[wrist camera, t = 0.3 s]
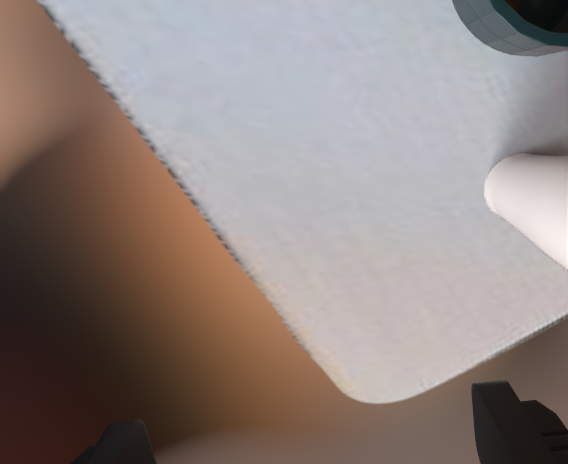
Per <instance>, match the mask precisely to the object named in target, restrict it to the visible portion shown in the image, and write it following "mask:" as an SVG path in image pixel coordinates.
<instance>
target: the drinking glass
mask: <svg viewBox="0 0 568 464" xmlns="http://www.w3.org/2000/svg"><path fill="white" fill-rule="evenodd" d="M484 197H485V201H486V203H487V205H488V207H489V209H490V210H491V211H492V212H493V213H494V214H495V215H496V216H497V217H499V218H500V219H502V220H504V221H506V222H507V223H508V224H509V225H511V226H512V227H513V228H514V229H515V230H517V231H518V232H519V233H520V234H521V235H523V236H524V237H525V238H526V239H527V240H528V241H530V242H531V243H532V244H533V245H534V246H535V247H537V248H538V249H539V250H540V251H541V252H542V253H544V254H545V255H546V256H547V257H549V258H550V259H551V260H552V261H554V262H555V263H556V264H558V265H559V266H561V267H562V268H564V269H565V270H567V271H568V156H553V155H536V154H530V153H517V154H513V155H510V156H507V157H505V158H503V159H502V160H500V161H499V162H498V163H497V164H495V165H494V167H493V168H492V169H491V170H490V172H489V173H488V175H487V178H486V180H485V184H484Z"/></svg>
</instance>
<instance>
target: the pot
mask: <svg viewBox="0 0 568 464" xmlns="http://www.w3.org/2000/svg"><path fill="white" fill-rule="evenodd" d="M452 1H453V4H454V7H455V9H456V11H457V13H458V15H459V17H460V19H461V20H462V22H463V23H464V24H465V26H466V27H467V29H468V30H469V31H470V32H471V33H472V34H473V35H474V36H475V37H476V38H478V39H479V40H480V41H482V42H483V43H484V44H486V45H488V46H490V47H491V48H493V49H496V50H498V51H501V52H503V53H507V54H510V55H518V56H536V57H537V56H542V55H547V54H552V53H556V52H561V51H566V50H568V0H452Z"/></svg>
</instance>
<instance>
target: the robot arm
mask: <svg viewBox="0 0 568 464" xmlns="http://www.w3.org/2000/svg"><path fill="white" fill-rule="evenodd" d="M472 403H473V417H474V429H475V440H476V447H477V452H478V456H479V460H480V463H481V464H568V430H567V428H566V427H565V425H563V423H562V421H561V420H560V419H559V417H558V416H557V414H555V413H554V412H553V411H551V410H550V409H548V408H547V407H545V406H544V405H542V404H541V403H539V402H538V401H537V400H531V401H522V402H520V400H519V399H518V397H517V395H516V394H515V392H514V391H513V389H512V388H511V386H510V384H509V383H508V382H507V381H506V380H500V381H492V382H483V383H473V384H472ZM71 464H156V461H155V457H154V454H153V450H152V447H151V443H150V440H149V436H148V433H147V430H146V426H145V424H144V422H143V421H142V420H131V421H122V422H113V423H110V424H109V425H108V426H107V427H106V429H105V431H104V432H103V434H102V435H101V437H100V439H99V440H98V442H97V444H96V445H95V446H89V447H88V448H87V449H86V450H85V451H84V452H83V453H81V455H79V456H78V457H77V458H76V459H75V460H74V461H73V462H72V463H71Z"/></svg>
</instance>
